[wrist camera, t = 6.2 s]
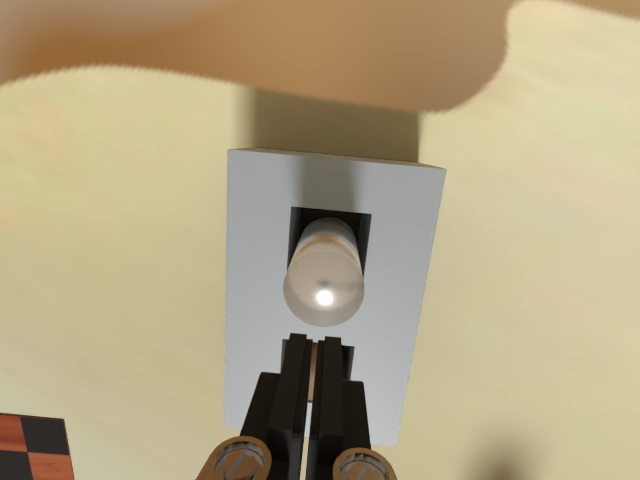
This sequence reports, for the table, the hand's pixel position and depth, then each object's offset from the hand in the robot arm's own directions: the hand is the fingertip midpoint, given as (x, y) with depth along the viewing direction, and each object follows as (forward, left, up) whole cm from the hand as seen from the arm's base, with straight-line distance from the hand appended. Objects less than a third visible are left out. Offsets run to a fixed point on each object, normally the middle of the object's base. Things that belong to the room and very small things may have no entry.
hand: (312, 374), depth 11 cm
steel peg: (0, 0, -14) cm, 14 cm away
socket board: (0, +5, -21) cm, 22 cm away
